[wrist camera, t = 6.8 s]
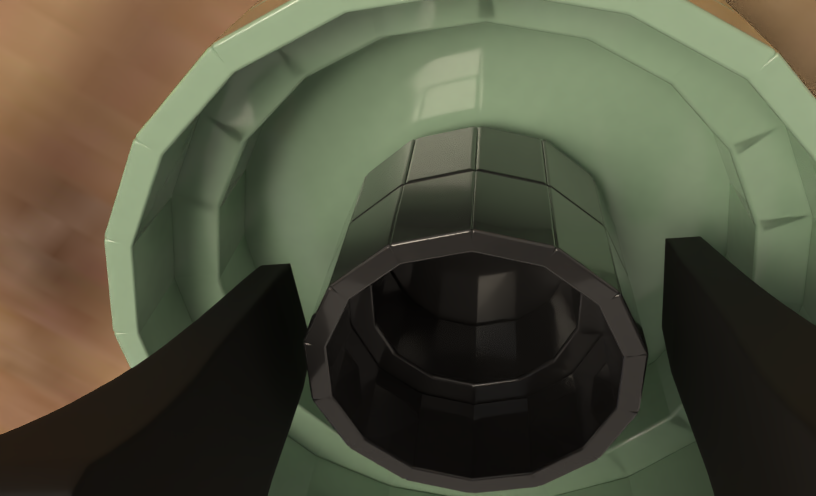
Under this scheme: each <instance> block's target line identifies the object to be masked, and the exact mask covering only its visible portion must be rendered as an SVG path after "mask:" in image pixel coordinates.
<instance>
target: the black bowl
mask: <svg viewBox="0 0 816 496" xmlns="http://www.w3.org/2000/svg"><path fill="white" fill-rule="evenodd" d="M303 345H304V352H305V358H306V365H307V372H308V378H309V385H310V392H311V397H312V399H313V402H314V403H315V404H316V406H317V407H318V408H319V410H320V411H321V412H322V413H323V415H324V416H325V417H326V419H327V420H328V421H329V423H330V424H331V425H332V427H333V428H334V429H335V430H336V432H337V433H338V434H339V436H340V437H341V438H342V440H343V441H344V442H345V443H346V445H347V446H349V447H350V449H352V450H354V451H356V452H357V453H359V454H361V455H362V456H364V457H366V458H368V459H369V460H371V461H373V462H374V463H376V464H378V465H380V466H381V467H383V468H385V469H387V470H388V471H390V472H392V473H393V474H395V475H397V476H399V477H400V478H402V479H406V480H407V481H412V482H417V483H422V484H427V485H431V486H436V487H441V488H446V489H451V490H456V491H460V492H465V493H471V492H472V493H484V492H494V491H504V490H513V489H523V488H533V487H538V486H542V485H544V484H547V483H549V482H551V481H553V480H555V479H557V478H559V477H562V476H564V475H566V474H568V473H570V472H572V471H574V470H577V469H579V468H581V467H583V466H585V465H587V464H589V463H592V462H594V461H596V460H597V459H598V458H600V457H601V456H602V455H603V454H604V453H605V451H606V450H607V449H608V448H609V447H610V446H611V444H612V443H613V442H614V441H615V440H616V439H617V437H618V436H619V435H620V434H621V433H622V432H623V430H624V429H625V428H626V427H627V426H628V425H629V424H630V422H631V421H632V420H633V419H634V418H635V417H636V415H637V414H638V412H639V410H640V405H641V399H642V392H643V386H644V380H645V374H646V368H647V362H648V356H649V354H648V348H647V344H646V340H645V336H644V333H643V329H642V325H641V321H640V317H639V314H638V310H637V306H636V302H635V298H634V295H633V291H632V287H631V283H630V280H629V278H628V273H627V269H626V265H625V261H624V258H623V254H622V250H621V246H620V242H619V239H618V235H617V231H616V227H615V224H614V222H613V220H612V217H611V215H610V213H609V211H608V208H607V206H606V204H605V202H604V200H603V197H602V195H601V193H600V191H599V188H598V186H597V184H596V182H595V180H594V179H593V178H592V175H591V174H590V173H588V172H587V171H586V170H584V169H583V168H582V167H580V166H579V165H578V164H576V163H575V162H574V161H572V160H571V159H570V158H569V157H567V156H566V155H565V154H563V153H562V152H561V151H559V150H558V149H557V148H555V147H554V146H553V145H551V144H550V143H549V142H547V141H546V140H544V139H543V140H541V139H539V138H535V137H531V136H526V135H521V134H516V133H512V132H507V131H502V130H498V129H493V128H488V127H483V126H480V127H478V128H477V127H468V128H464V129H459V130H454V131H450V132H445V133H440V134H435V135H431V136H426V137H421V138H418V139H416V140H414V139H413V140H411V141H409V142H408V143H407V144H405V145H404V146H403V147H401V148H400V149H399V150H398V151H396V152H395V153H394V154H392V155H391V156H390V157H388V158H387V159H386V160H385V161H383V162H382V163H381V164H379V165H378V166H377V167H375V168H374V169H373V170H371V171H370V172H369V173H368V174H367V175H366V176H365V178H364V180H363V182H362V184H361V187H360V189H359V191H358V193H357V195H356V198H355V200H354V202H353V204H352V207H351V209H350V211H349V213H348V216H347V218H346V220H345V222H344V225H343V228H342V231H341V234H340V237H339V240H338V242H337V245H336V248H335V251H334V254H333V257H332V260H331V263H330V266H329V268H328V271H327V274H326V277H325V280H324V283H323V286H322V288H321V291H320V294H319V297H318V300H317V303H316V306H315V309H314V311H313V314H312V317H311V320H310V323H309V326H308V329H307V332H306V335H305V337H304V343H303Z"/></svg>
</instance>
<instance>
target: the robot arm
mask: <svg viewBox="0 0 816 496" xmlns="http://www.w3.org/2000/svg"><path fill="white" fill-rule="evenodd" d="M662 331H663V336H664V341H665V346H666V351H667V355H668V360H669V364H670V369H671V373H672V376H673V379H674V382H675V385H676V387H677V390H678V393H679V396H680V399H681V401H682V404H683V407H684V410H685V412H686V415H687V418H688V421H689V423H690V426H691V429H692V432H693V434H694V437H695V440H696V443H697V445H698V448H699V451H700V454H701V456H702V459H703V462H704V464H705V467H706V470H707V473H708V476H709V480H710V483H711V486H712V489H713V492H714V496H816V325H814V324H813V323H811V322H809V321H808V320H806V319H805V318H803V317H802V316H800V315H799V314H797V313H796V312H795V311H793V310H792V309H790V308H789V307H787V306H786V305H784V304H783V303H781V302H780V301H779V300H777V299H776V298H775V297H773V296H772V295H771V294H769V293H768V292H767V291H765V290H764V289H763V288H761V287H760V286H759V285H758V284H756V283H755V282H754V281H753V280H751V279H750V278H749V277H748V276H746V275H745V274H744V273H743V272H741V271H740V270H739V269H738V268H737V267H735V266H734V265H733V264H732V263H731V262H730V261H728V260H727V259H726V258H725V257H724V256H723V255H721V254H720V253H719V252H718V251H717V250H716V249H715V248H713V247H712V246H711V245H710V244H709V243H708V242H706V241H705V240H704V239H703V238H702V237H700V236H696V237H681V238H666V239H665V260H664V284H663V307H662ZM306 332H307V325H306V321H305V317H304V313H303V310H302V306H301V302H300V298H299V295H298V291H297V287H296V283H295V279H294V276H293V272H292V268H291V264H290V263H288V264H273V265H261V266H260V267H258V268H257V269H256V270H254V271H253V272H252V273H251V274H249V275H248V276H247V277H246V278H245V279H243V280H242V281H241V282H240V283H239V284H238V285H236V286H235V287H234V288H233V289H232V290H231V291H230V292H228V293H227V294H226V295H225V296H224V297H223V298H222V299H220V300H219V301H218V302H217V303H216V304H215V305H213V306H212V307H211V308H210V309H209V310H208V311H207V312H205V313H204V314H203V315H202V316H201V317H200V318H198V319H197V320H196V321H195V322H193V323H192V324H191V325H190V326H188V327H187V328H186V329H185V330H183V331H182V332H181V333H179V334H178V335H177V336H176V337H174V338H173V339H172V340H171V341H169V342H168V343H167V344H165V345H164V346H163V347H162V348H160V349H159V350H157V351H156V352H155V353H153V354H152V355H150V356H149V357H148V358H146V359H145V360H143V361H142V362H140V363H139V364H137V365H136V366H134V367H133V368H131V369H130V370H128V371H126V372H125V373H123V374H122V375H120V376H119V377H117V378H115V379H114V380H112V381H110V382H108V383H107V384H105V385H103V386H101V387H99V388H98V389H96V390H94V391H92V392H90V393H89V394H87V395H85V396H83V397H81V398H80V399H78V400H76V401H74V402H72V403H70V404H68V405H66V406H64V407H62V408H60V409H58V410H56V411H54V412H52V413H50V414H48V415H46V416H43V417H41V418H39V419H37V420H34V421H32V422H30V423H28V424H25V425H23V426H21V427H19V428H16V429H14V430H11V431H9V432H6V433H4V434H1V435H0V496H268V493H269V489H270V486H271V483H272V479H273V476H274V473H275V470H276V467H277V465H278V462H279V459H280V456H281V453H282V450H283V447H284V444H285V441H286V438H287V435H288V433H289V430H290V427H291V424H292V421H293V418H294V415H295V412H296V409H297V406H298V403H299V400H300V397H301V394H302V391H303V388H304V383H305V378H306V373H307V365H306V358H305V352H304V345H303V343H304V337H305V335H306Z"/></svg>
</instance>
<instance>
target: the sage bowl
mask: <svg viewBox="0 0 816 496" xmlns="http://www.w3.org/2000/svg"><path fill="white" fill-rule="evenodd" d="M480 126H483V127H488V128H493V129H498V130H502V131H507V132H512V133H516V134H521V135H526V136H531V137H535V138H539V139H541V140H543V139H544V140H546V141H547V142H549V143H550V144H551V145H553V146H554V147H555V148H557V149H558V150H559V151H561V152H562V153H563V154H565V155H566V156H567V157H569V158H570V159H571V160H572V161H574V162H575V163H576V164H578V165H579V166H580V167H582V168H583V169H584V170H586V171H587V172H588V173H590V174H591V175H592V178H593V179H594V180H595V182H596V184H597V186H598V188H599V191H600V193H601V195H602V197H603V200H604V202H605V204H606V206H607V208H608V211H609V213H610V215H611V217H612V220H613V222H614V224H615V227H616V231H617V235H618V239H619V242H620V246H621V250H622V254H623V258H624V261H625V265H626V269H627V273H628V278H629V280H630V283H631V287H632V291H633V295H634V298H635V302H636V306H637V310H638V314H639V317H640V321H641V325H642V329H643V333H644V336H645V340H646V344H647V348H648V354H649V356H648V362H647V368H646V374H645V380H644V386H643V392H642V399H641V405H640V410H639V412H638V414H637V415H636V417H635V418H634V419H633V420H632V421H631V422H630V424H629V425H628V426H627V427H626V428H625V429H624V430H623V432H622V433H621V434H620V435H619V436H618V437H617V439H616V440H615V441H614V442H613V443H612V444H611V446H610V447H609V448H608V449H607V450H606V451H605V453H604V454H603V455H602V456H601V457H600V458H598V459H597V460H596V461H594V462H592V463H589V464H587V465H585V466H583V467H581V468H579V469H577V470H574V471H572V472H570V473H568V474H566V475H564V476H562V477H559V478H557V479H555V480H553V481H551V482H549V483H547V484H544V485H542V486H538V487H533V488H523V489H513V490H504V491H494V492H484V493H472V492H471V493H465V492H460V491H456V490H451V489H446V488H441V487H436V486H431V485H427V484H422V483H417V482H412V481H407V480H406V479H402V478H400V477H399V476H397V475H395V474H393V473H392V472H390V471H388V470H387V469H385V468H383V467H381V466H380V465H378V464H376V463H374V462H373V461H371V460H369V459H368V458H366V457H364V456H362V455H361V454H359V453H357V452H356V451H354V450H352V449H350V447H349V446H347V445H346V443H345V442H344V441H343V440H342V438H341V437H340V436H339V434H338V433H337V432H336V430H335V429H334V428H333V427H332V425H331V424H330V423H329V421H328V420H327V419H326V417H325V416H324V415H323V413H322V412H321V411H320V410H319V408H318V407H317V406H316V404H315V403H314V402H313V399H312V397H311V392H310V385H309V378H308V372H307V373H306V378H305V383H304V388H303V391H302V394H301V397H300V400H299V403H298V406H297V409H296V412H295V415H294V418H293V421H292V424H291V427H290V430H289V433H288V435H287V438H286V441H285V444H284V447H283V450H282V453H281V456H280V459H279V462H278V465H277V467H276V470H275V473H274V476H273V479H272V483H271V486H270V489H269V493H268V496H714V492H713V489H712V486H711V483H710V480H709V476H708V473H707V470H706V467H705V464H704V462H703V459H702V456H701V454H700V451H699V448H698V445H697V443H696V440H695V437H694V434H693V432H692V429H691V426H690V423H689V421H688V418H687V415H686V412H685V410H684V407H683V404H682V401H681V399H680V396H679V393H678V390H677V387H676V385H675V382H674V379H673V376H672V373H671V369H670V364H669V360H668V355H667V351H666V346H665V341H664V336H663V331H662V307H663V284H664V260H665V239H666V238H681V237H696V236H700V237H702V238H703V239H704V240H705V241H706V242H708V243H709V244H710V245H711V246H712V247H713V248H715V249H716V250H717V251H718V252H719V253H720V254H721V255H723V256H724V257H725V258H726V259H727V260H728V261H730V262H731V263H732V264H733V265H734V266H735V267H737V268H738V269H739V270H740V271H741V272H743V273H744V274H745V275H746V276H748V277H749V278H750V279H751V280H753V281H754V282H755V283H756V284H758V285H759V286H760V287H761V288H763V289H764V290H765V291H767V292H768V293H769V294H771V295H772V296H773V297H775V298H776V299H777V300H779V301H780V302H781V303H783V304H784V305H786V306H787V307H789V308H790V309H792V310H793V311H795V312H796V313H797V314H799V315H800V316H802V317H803V318H805V319H806V320H808V321H809V322H811V323H813V324H814V325H816V98H815V97H814V95H813V94H812V93H811V92H810V90H809V89H808V88H807V87H806V85H805V84H804V83H803V82H802V80H801V79H800V78H799V77H798V75H797V74H796V73H795V72H794V70H793V69H792V68H791V67H790V65H789V64H788V63H787V62H786V60H785V59H784V58H783V57H782V55H781V54H780V53H779V52H778V51H777V50H776V49H775V48H774V47H773V46H772V45H771V44H770V43H769V42H768V41H767V40H766V39H764V38H763V37H762V36H761V35H760V34H759V33H758V32H757V31H756V30H755V29H754V28H753V27H752V26H751V25H750V24H749V23H748V22H747V21H746V20H745V19H744V18H742V17H741V16H740V15H739V14H738V13H737V12H736V11H735V10H734V9H733V8H732V7H731V6H730V5H729V4H728V3H727V2H726V1H725V0H259V1H258V2H257V3H256V4H255V5H254V6H252V7H251V8H250V9H249V10H248V11H247V12H246V13H245V14H244V15H243V16H242V17H241V18H239V19H238V20H237V21H236V22H235V23H234V24H233V25H232V26H231V27H230V28H229V29H228V30H226V31H225V32H224V33H223V34H222V35H221V36H220V37H219V38H218V39H217V40H216V41H215V42H213V43H212V44H211V45H210V46H209V47H208V48H207V49H206V51H205V52H204V53H203V54H202V55H201V57H200V58H199V59H198V60H197V61H196V63H195V64H194V65H193V66H192V68H191V69H190V70H189V71H188V72H187V74H186V75H185V76H184V77H183V78H182V80H181V81H180V82H179V83H178V85H177V86H176V87H175V88H174V89H173V91H172V92H171V93H170V94H169V95H168V97H167V98H166V99H165V100H164V101H163V103H162V104H161V105H160V106H159V108H158V109H157V110H156V111H155V112H154V114H153V115H152V116H151V117H150V118H149V120H148V121H147V122H146V123H145V125H144V126H143V127H142V128H141V129H140V131H139V132H138V133H137V134H136V138H135V139H134V140H133V142H132V146H131V149H130V152H129V156H128V159H127V162H126V166H125V169H124V172H123V176H122V179H121V182H120V185H119V189H118V192H117V195H116V199H115V202H114V205H113V209H112V212H111V215H110V219H109V222H108V225H107V229H106V232H105V239H104V242H105V252H106V263H107V273H108V283H109V293H110V303H111V314H112V324H113V331H114V332H115V337H116V339H117V341H118V343H119V345H120V347H121V349H122V351H123V353H124V355H125V358H126V360H127V362H128V364H129V366H130V368H133V367H134V366H136V365H137V364H139V363H140V362H142V361H143V360H145V359H146V358H148V357H149V356H150V355H152V354H153V353H155V352H156V351H157V350H159V349H160V348H162V347H163V346H164V345H165V344H167V343H168V342H169V341H171V340H172V339H173V338H174V337H176V336H177V335H178V334H179V333H181V332H182V331H183V330H185V329H186V328H187V327H188V326H190V325H191V324H192V323H193V322H195V321H196V320H197V319H198V318H200V317H201V316H202V315H203V314H204V313H205V312H207V311H208V310H209V309H210V308H211V307H212V306H213V305H215V304H216V303H217V302H218V301H219V300H220V299H222V298H223V297H224V296H225V295H226V294H227V293H228V292H230V291H231V290H232V289H233V288H234V287H235V286H236V285H238V284H239V283H240V282H241V281H242V280H243V279H245V278H246V277H247V276H248V275H249V274H251V273H252V272H253V271H254V270H256V269H257V268H258V267H260V266H261V265H273V264H288V263H290V264H291V268H292V272H293V276H294V279H295V283H296V287H297V291H298V295H299V298H300V302H301V306H302V310H303V313H304V317H305V321H306V325H307V329H308V326H309V323H310V320H311V317H312V314H313V311H314V309H315V306H316V303H317V300H318V297H319V294H320V291H321V288H322V286H323V283H324V280H325V277H326V274H327V271H328V268H329V266H330V263H331V260H332V257H333V254H334V251H335V248H336V245H337V242H338V240H339V237H340V234H341V231H342V228H343V225H344V222H345V220H346V218H347V216H348V213H349V211H350V209H351V207H352V204H353V202H354V200H355V198H356V195H357V193H358V191H359V189H360V187H361V184H362V182H363V180H364V178H365V176H366V175H367V174H368V173H369V172H370V171H371V170H373V169H374V168H375V167H377V166H378V165H379V164H381V163H382V162H383V161H385V160H386V159H387V158H388V157H390V156H391V155H392V154H394V153H395V152H396V151H398V150H399V149H400V148H401V147H403V146H404V145H405V144H407V143H408V142H409V141H411V140H413V139H414V140H416V139H418V138H421V137H426V136H431V135H435V134H440V133H445V132H450V131H454V130H459V129H464V128H468V127H477V128H478V127H480Z"/></svg>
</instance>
